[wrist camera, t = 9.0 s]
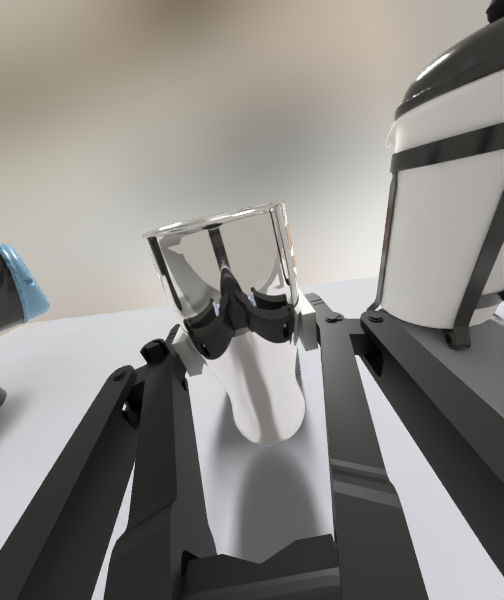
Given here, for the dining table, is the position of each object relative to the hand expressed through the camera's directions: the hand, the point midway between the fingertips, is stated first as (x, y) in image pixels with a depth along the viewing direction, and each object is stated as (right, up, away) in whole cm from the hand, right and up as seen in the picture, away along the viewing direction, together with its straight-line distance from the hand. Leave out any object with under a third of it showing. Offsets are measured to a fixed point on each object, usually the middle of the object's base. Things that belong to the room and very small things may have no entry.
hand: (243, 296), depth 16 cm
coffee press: (+27, -3, +10) cm, 29 cm away
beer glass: (+2, -9, -1) cm, 10 cm away
